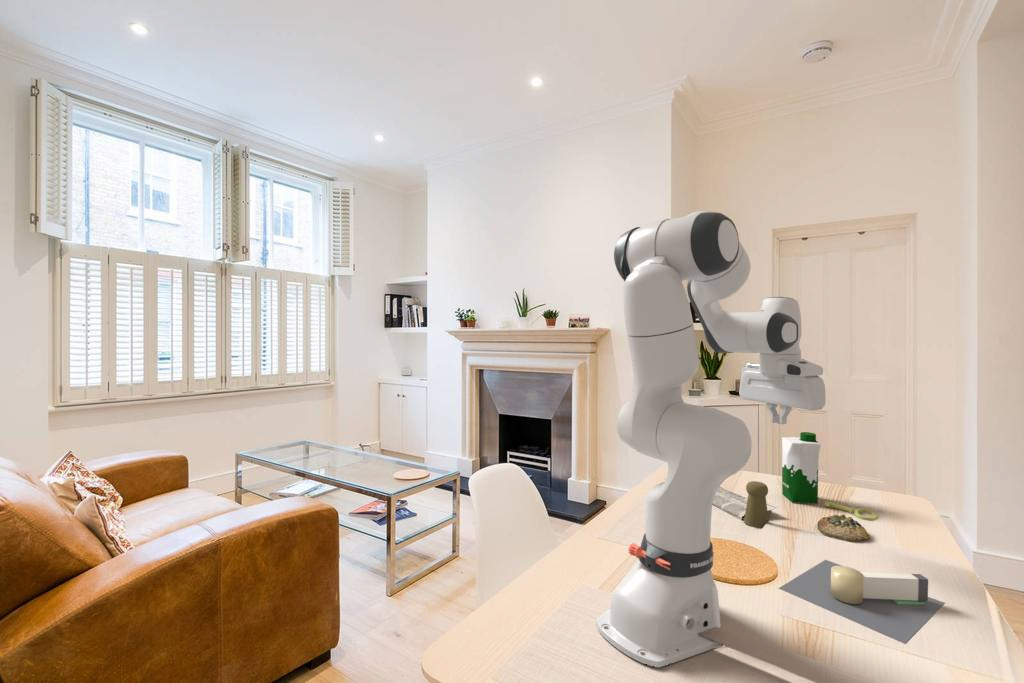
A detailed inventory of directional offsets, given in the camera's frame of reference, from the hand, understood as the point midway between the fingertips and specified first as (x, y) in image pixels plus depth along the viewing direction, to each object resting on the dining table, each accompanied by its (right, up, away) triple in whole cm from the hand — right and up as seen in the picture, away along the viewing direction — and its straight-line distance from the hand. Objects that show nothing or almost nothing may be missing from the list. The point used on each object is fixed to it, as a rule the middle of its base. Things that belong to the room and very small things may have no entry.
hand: (778, 423), depth 116 cm
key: (+31, -29, +19) cm, 47 cm away
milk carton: (+23, -28, +30) cm, 47 cm away
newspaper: (-1, -29, +32) cm, 43 cm away
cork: (+1, -29, +12) cm, 31 cm away
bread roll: (+20, -29, +6) cm, 36 cm away
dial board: (+2, -30, -24) cm, 39 cm away
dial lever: (+4, -28, -26) cm, 39 cm away
